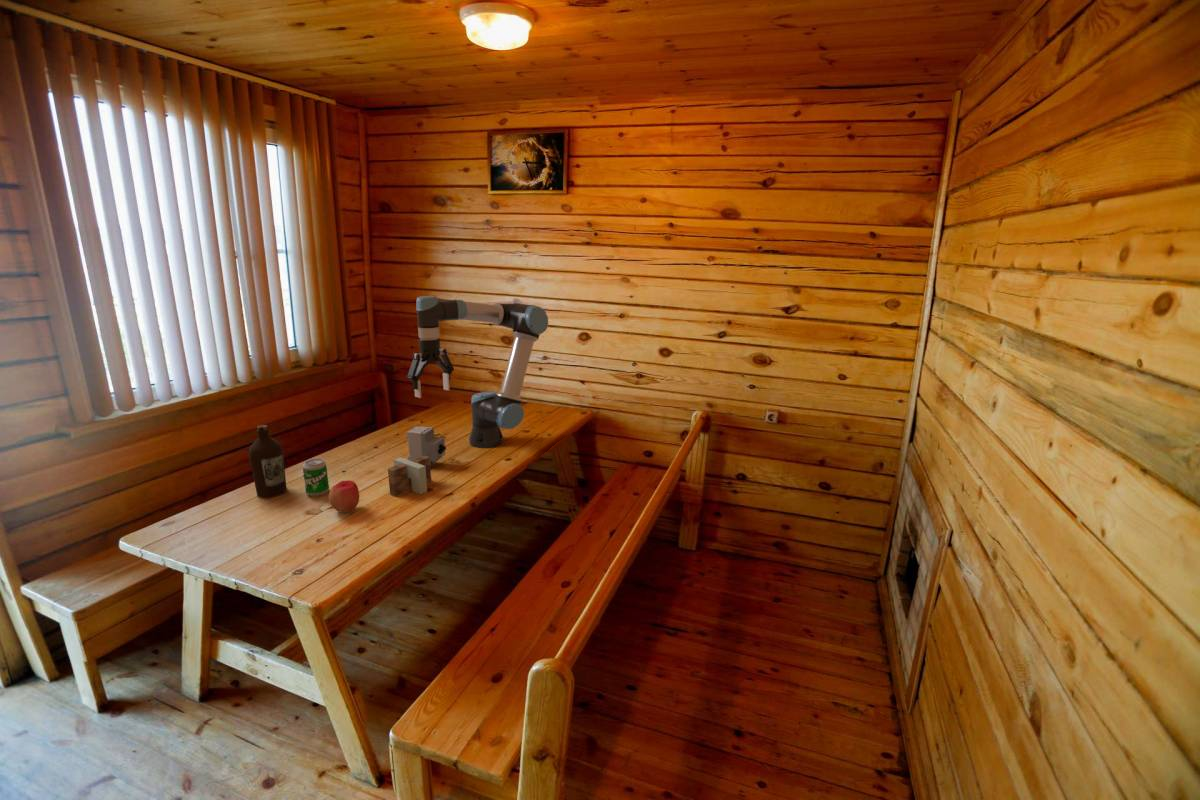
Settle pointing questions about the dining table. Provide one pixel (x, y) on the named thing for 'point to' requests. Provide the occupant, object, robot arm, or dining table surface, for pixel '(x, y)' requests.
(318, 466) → the soda can
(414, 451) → the circuit breaker
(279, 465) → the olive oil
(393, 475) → the brown notched flat block
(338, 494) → the apple
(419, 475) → the grey panel
